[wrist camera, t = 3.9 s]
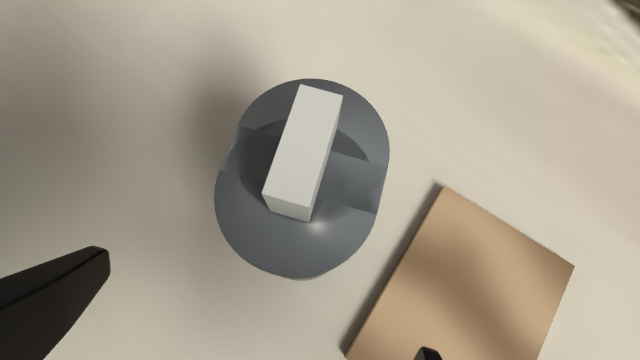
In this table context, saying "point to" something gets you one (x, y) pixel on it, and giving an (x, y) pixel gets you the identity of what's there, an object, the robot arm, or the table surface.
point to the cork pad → (465, 291)
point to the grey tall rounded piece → (302, 178)
